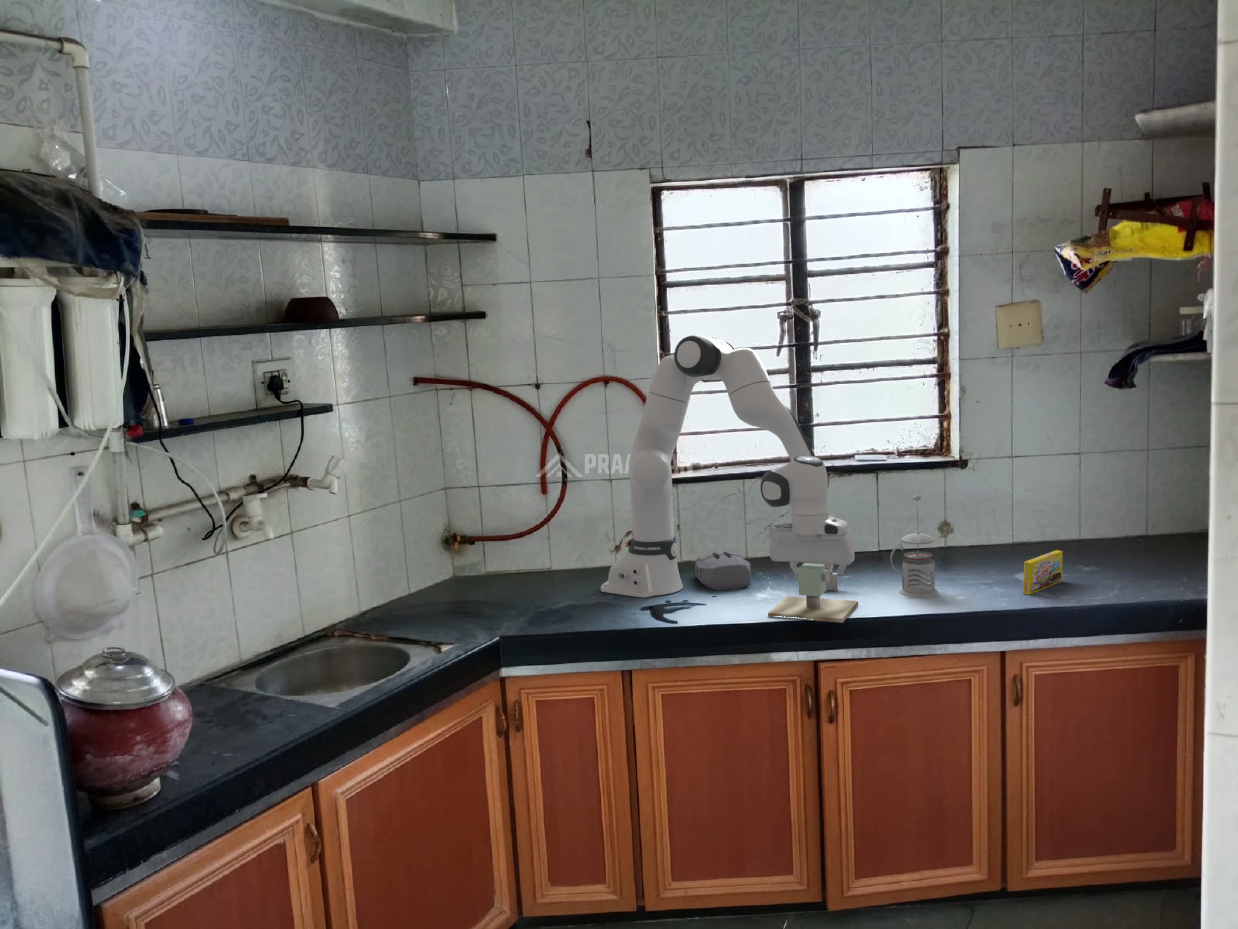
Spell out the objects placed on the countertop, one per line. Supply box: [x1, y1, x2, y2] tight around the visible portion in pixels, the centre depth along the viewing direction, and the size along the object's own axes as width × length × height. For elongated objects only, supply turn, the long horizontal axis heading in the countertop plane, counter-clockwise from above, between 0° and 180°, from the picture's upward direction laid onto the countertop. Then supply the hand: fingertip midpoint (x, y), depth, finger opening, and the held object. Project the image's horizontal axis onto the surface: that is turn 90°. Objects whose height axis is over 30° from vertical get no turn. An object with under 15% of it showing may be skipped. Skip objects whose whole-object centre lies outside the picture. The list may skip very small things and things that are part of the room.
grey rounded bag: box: [694, 551, 752, 591], centre depth 272 cm, size 15×8×20 cm
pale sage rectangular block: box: [797, 563, 827, 597], centre depth 239 cm, size 5×5×7 cm
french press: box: [889, 494, 940, 599], centre depth 248 cm, size 10×12×25 cm
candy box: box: [1022, 549, 1064, 596], centre depth 247 cm, size 16×2×8 cm, turn 129°
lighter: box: [825, 565, 848, 592], centre depth 257 cm, size 7×2×8 cm, turn 87°
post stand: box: [767, 595, 859, 624], centre depth 239 cm, size 18×15×6 cm
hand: (812, 580), depth 239 cm, fingers closed on pale sage rectangular block, 5 cm apart
